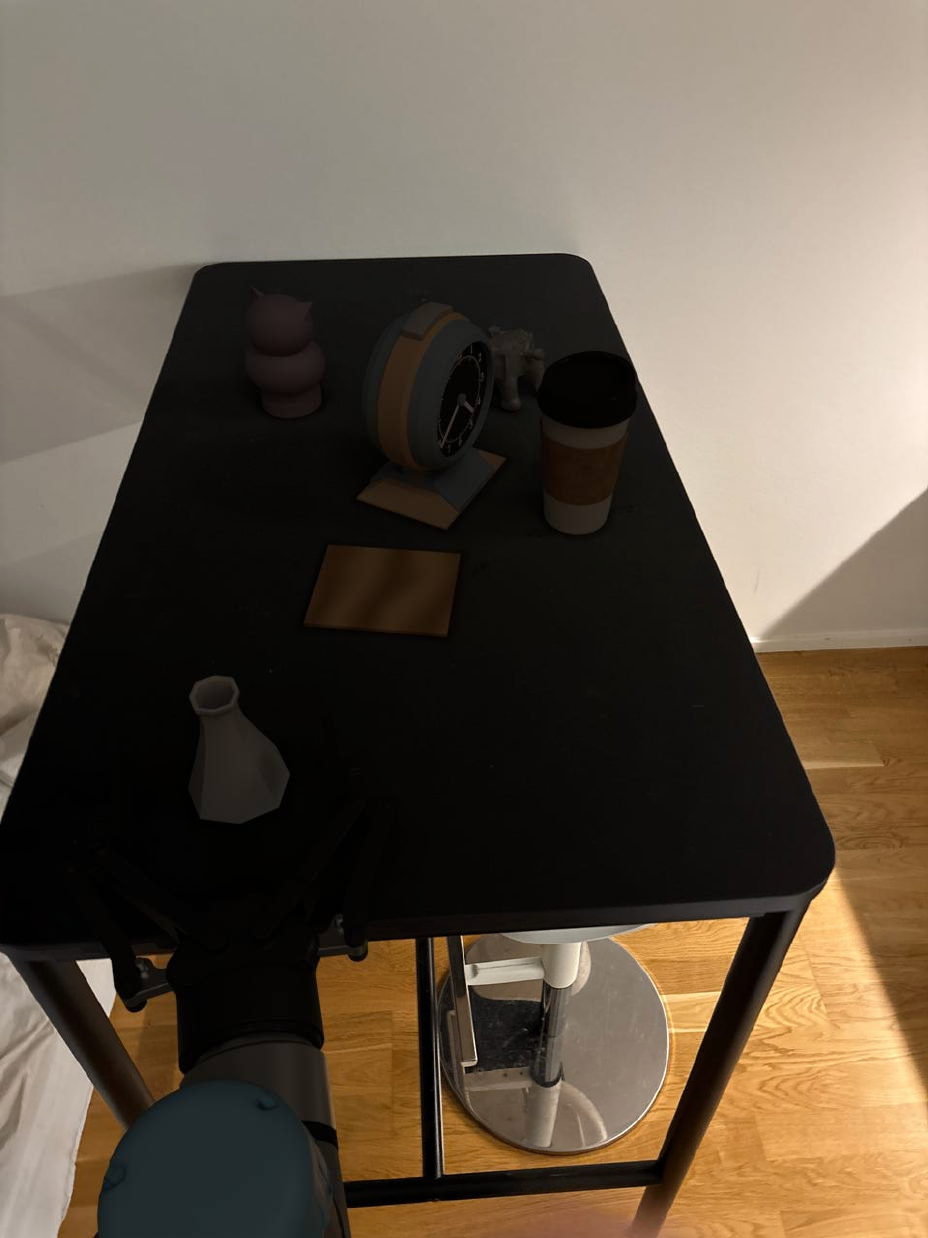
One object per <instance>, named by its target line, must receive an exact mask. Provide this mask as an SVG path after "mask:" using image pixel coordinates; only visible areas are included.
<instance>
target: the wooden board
mask: <svg viewBox="0 0 928 1238" xmlns="http://www.w3.org/2000/svg"><path fill="white" fill-rule="evenodd" d="M461 556H462V555H461V553H458V552H457V553H456V552H455V553H454V552H442V551H427V550H415V549H414V550H411V549H399V548H384V547H383V548H382V547H372V546H369V547H368V546H356V545H341V544H328V545H327V548H326V551H325V554H324V557H323V561H322V564H321V567H320V570H319V573H318V576H317V580H316V581H315V584H314V589H313V591H312V594H311V598H310V601H309V604H308V606H307V607H308V608H307V611H306V614H305V617H304V620H303V627H310V628H321V629H322V628H323V629H336V630H349V631H363V632H376V633H387V634H388V633H389V634H399V635H415V636H429V637H441V638H447V637H448V634H449V627H450V621H451V616H452V610H453V604H454V598H455V593H456V586H457V582H458V581H457V580H458V575H459V568H460V562H461V558H462V557H461Z"/></svg>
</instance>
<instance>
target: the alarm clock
mask: <svg viewBox="0 0 928 1238" xmlns="http://www.w3.org/2000/svg"><path fill="white" fill-rule="evenodd" d="M488 339H489V338H488V337H487V335H486V334H485V333H484V332H483V330H482V329H481V328H480V327H479V326H477V325H475V324H473V323H472V322H471V321H470V320H469V319H468V317H466V316H465V315H463V314H461V313H460V312H457V311H454V308H453V306H452V305H449V304H445V303H441V302H436V301H429V302H426V303H424V304H422V305H420V306H419V307H418V308H416V309H415V310H411V311H409V312H407V313H405V314H402V315H400V316H399V317H397V318H396V319H394V320H392V322H391V323H390V324H389V325H388V326H387V327H386V328H385V329H384V330H383V332H382V334H381V335H380V337H379V339H378V340H377V342H376V344H375V345H374V348H373V350H372V352H371V354H370V358H369V360H368V363H367V367H366V370H365V374H364V378H363V383H362V391H361V418H362V423H363V428H364V430H365V432H366V434H367V437H368V439H369V440H370V441H371V443H372V444H373V446H374V447H375V448H377V449H378V450H379V451H380V452H381V453H382V454H384V455H385V456H386V458H387V459H388V461H386V463H385V464H384V465H383V466H382V467H381V468H380V469H379V470H378V471H377V472H376V473H375V474H374V475H373V476H372V477H371V478H370V479H369V483H368V485H367V486H366V487H365V488H364V489H363V490H362V491H361V492H360V493H359V494H358V495H357V496H356V499H355V500H357V501H359V502H363V503H366V504H369V505H371V506H374V507H378V508H380V509H384V510H386V511H388V512H392V513H395V514H398V515H400V516H404V517H407V518H410V519H412V520H415V521H418V522H421V523H423V524H427V525H430V526H432V527H435V528H438V529H442V530H444V531H447V530H448V529H449V528H450V526H451V525H452V524H453V523H454V522H455V521H456V519H457V518H458V517H459V516H460V515H461V514H462V512H463V511H464V510H465V509H466V507H468V506H469V504H470V503H471V502H472V500H473V499H474V498H476V496H477V495H478V494H479V492H480V491H481V490H482V489H483V488H484V486H485V485H486V484H487V483H488V481H489V480H491V478H492V477H493V476H494V474H495V473H496V472H497V471H498V470H499V469H500V467H501V466H503V464H504V462H506V460H507V459H506V457H504V456H501V455H499V454H498V455H497V454H494V453H492V452H488V451H485V450H482V449H480V448H476V447H473V445H474V443H475V442H476V440H477V438H478V436H479V434H480V433H481V430H482V428H483V425H484V423H485V421H486V419H487V418H486V417H487V415H488V412H489V408H490V405H491V401H492V396H493V390H494V383H495V382H494V355H493V351H492V346H491V343H490V342H489V340H488Z"/></svg>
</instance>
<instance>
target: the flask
mask: <svg viewBox="0 0 928 1238" xmlns="http://www.w3.org/2000/svg"><path fill="white" fill-rule="evenodd" d="M240 695H241V692H240V689H239V688H238V685H237V684H236V681H235V680H234V677H232V676H223V675H211V676H209V677H206V678H203V679H201V680H198V681H195V683H194V685H193V687H192V689H191V691H190V694H189V696H188V699H189V702H190V704H191V707H192V708H193V711H194V713H195V714H196V716H199V717H198V719H199V737H198V743H197V746H196V753H195V756H194V757H195V758H194V762H193V765H192V769H191V774H190V777H189V781H188V787H187V790H188V793H189V795H190V798H191V800H192V803H193V805H194V808H195V810H196V812H197V815H198V817H199V819H200V820H205V821H213V822H220V823H229V824H237V825H242V824H243V823H246V822H248V821H250V820H253V819H255V818H257V817H260V816H262V815H264V814H267V813H270V812H272V811H274V810H276V809H279V808H280V806H281V802H282V799H283V796H284V793H285V790H286V788H287V786H288V785H287V784H288V782H289V779H290V776H291V773H290V771H289V769H288V767H287V765H286V763H285V761H284V759H283V757H282V755H281V753H280V750H279V749H278V747H277V745H276V744H275V743H274V742H272V740H270V739H269V738H268V737H267V736H266V734H264V733H262V732H261V731H260V730H259V729H258V728H257V727H256V726H255V724H253V723H252V722H251V721H250V719H248V718H247V717H246V716H245V715H244V714H243V712H242V709H241V708H240V706H239V702H238V700H239V698H240Z"/></svg>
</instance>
